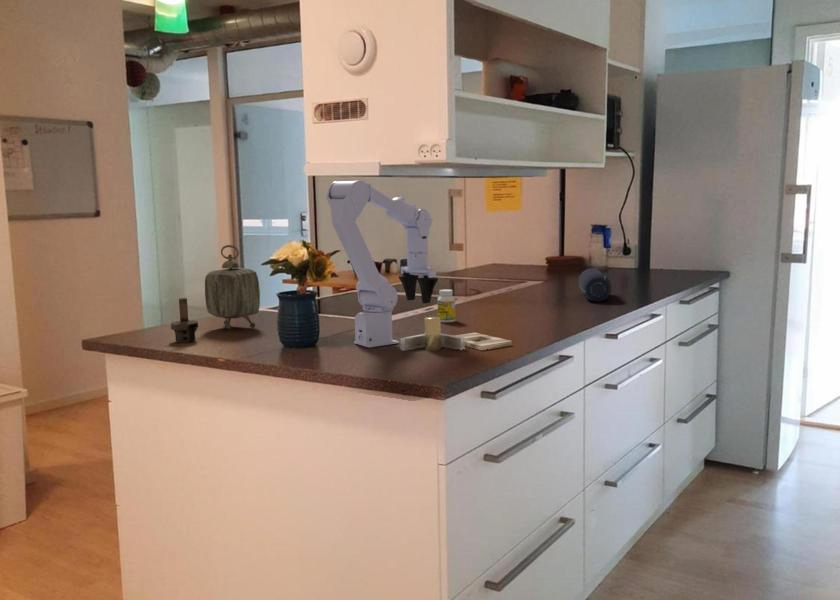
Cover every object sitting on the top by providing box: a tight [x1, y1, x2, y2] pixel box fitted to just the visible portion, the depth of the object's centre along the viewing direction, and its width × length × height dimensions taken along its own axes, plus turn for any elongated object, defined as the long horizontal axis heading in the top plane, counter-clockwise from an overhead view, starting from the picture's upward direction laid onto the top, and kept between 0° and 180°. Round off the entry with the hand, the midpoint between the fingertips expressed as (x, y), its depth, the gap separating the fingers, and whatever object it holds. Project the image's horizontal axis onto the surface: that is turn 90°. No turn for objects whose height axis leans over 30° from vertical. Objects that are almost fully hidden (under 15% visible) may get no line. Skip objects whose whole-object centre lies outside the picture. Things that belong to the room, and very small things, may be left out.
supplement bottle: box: [437, 289, 456, 323], centre depth 237 cm, size 5×5×10 cm
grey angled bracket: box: [399, 332, 466, 352], centre depth 200 cm, size 9×16×3 cm, turn 87°
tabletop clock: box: [204, 244, 261, 331], centre depth 231 cm, size 14×9×25 cm, turn 59°
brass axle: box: [424, 316, 442, 351], centre depth 197 cm, size 4×4×8 cm
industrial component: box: [170, 297, 199, 343], centre depth 214 cm, size 9×7×12 cm
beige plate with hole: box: [455, 332, 513, 351], centre depth 203 cm, size 15×10×1 cm, turn 34°
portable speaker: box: [578, 267, 612, 302], centre depth 280 cm, size 25×10×10 cm, turn 173°
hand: (418, 301), depth 215 cm, fingers open, 7 cm apart
